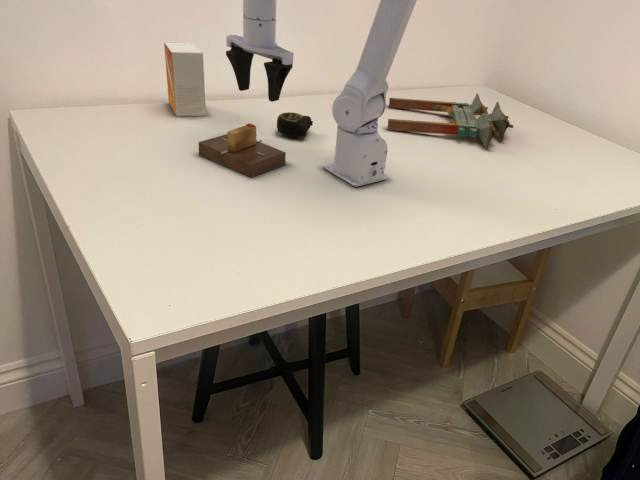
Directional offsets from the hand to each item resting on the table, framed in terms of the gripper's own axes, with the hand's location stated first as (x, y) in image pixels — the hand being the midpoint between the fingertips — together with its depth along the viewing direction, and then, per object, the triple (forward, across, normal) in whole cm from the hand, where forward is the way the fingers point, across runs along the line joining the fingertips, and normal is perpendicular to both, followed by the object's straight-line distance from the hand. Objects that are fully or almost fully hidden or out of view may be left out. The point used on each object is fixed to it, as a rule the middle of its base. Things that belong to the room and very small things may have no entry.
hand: (258, 95), depth 107 cm
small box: (+10, +22, -2) cm, 24 cm away
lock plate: (+9, -4, +9) cm, 14 cm away
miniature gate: (+10, -20, -45) cm, 51 cm away
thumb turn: (+7, -4, +9) cm, 12 cm away
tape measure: (+10, -2, -10) cm, 14 cm away
